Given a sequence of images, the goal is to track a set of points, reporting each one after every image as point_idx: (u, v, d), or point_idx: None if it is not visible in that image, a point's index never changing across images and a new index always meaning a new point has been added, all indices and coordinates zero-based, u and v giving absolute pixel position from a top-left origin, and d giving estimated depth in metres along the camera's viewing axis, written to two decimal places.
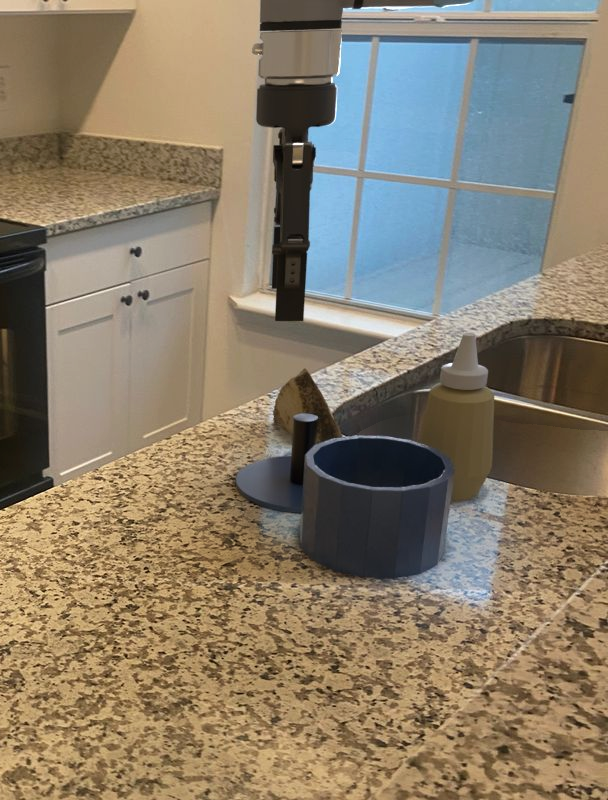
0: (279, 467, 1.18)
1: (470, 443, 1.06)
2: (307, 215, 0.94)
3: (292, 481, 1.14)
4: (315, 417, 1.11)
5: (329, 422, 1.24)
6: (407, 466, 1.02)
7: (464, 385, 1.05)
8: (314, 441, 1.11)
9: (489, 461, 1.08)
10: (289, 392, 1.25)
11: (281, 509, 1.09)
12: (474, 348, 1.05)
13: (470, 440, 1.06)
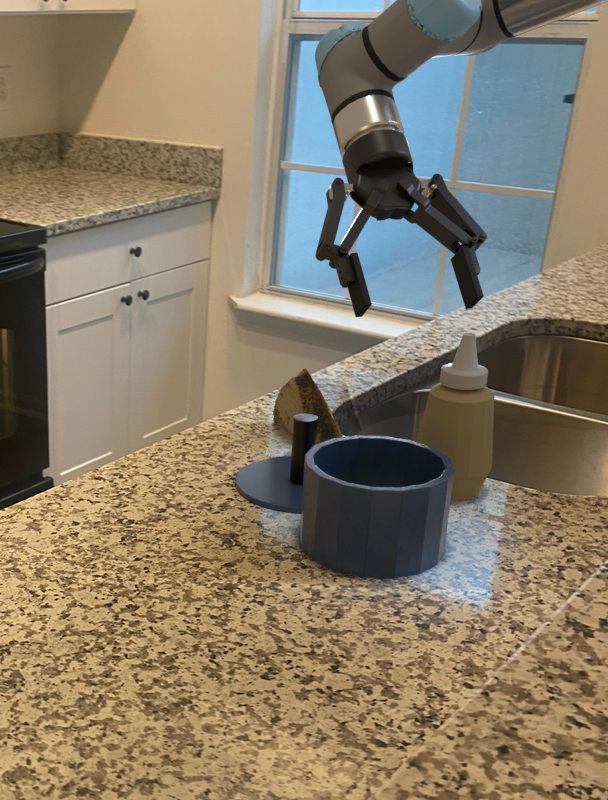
0: (279, 467, 1.18)
1: (470, 443, 1.06)
2: (327, 225, 1.14)
3: (292, 481, 1.14)
4: (315, 417, 1.11)
5: (329, 422, 1.24)
6: (407, 466, 1.02)
7: (464, 385, 1.05)
8: (314, 441, 1.11)
9: (489, 461, 1.08)
10: (289, 392, 1.25)
11: (281, 509, 1.09)
12: (474, 348, 1.05)
13: (470, 440, 1.06)
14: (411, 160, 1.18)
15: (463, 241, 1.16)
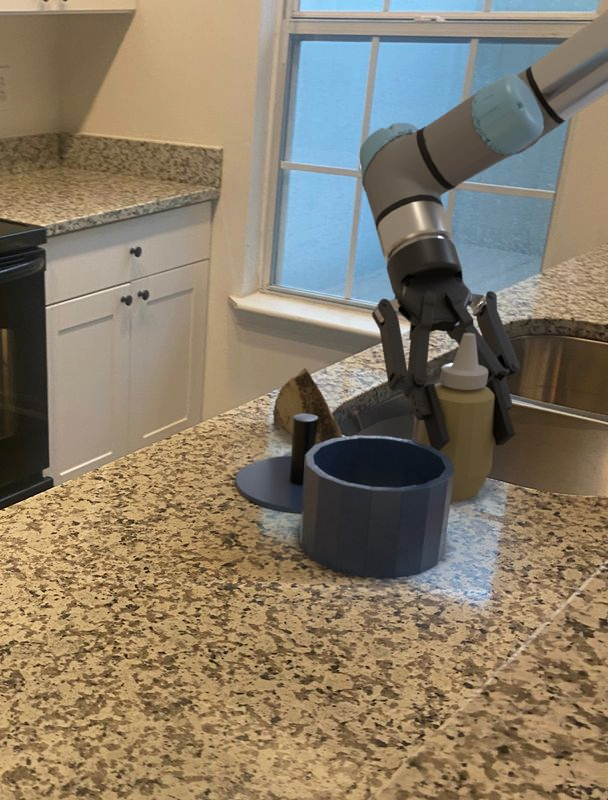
0: (279, 467, 1.18)
1: (470, 443, 1.06)
2: (393, 355, 1.08)
3: (292, 481, 1.14)
4: (315, 417, 1.11)
5: (329, 422, 1.24)
6: (407, 466, 1.02)
7: (464, 385, 1.05)
8: (314, 441, 1.11)
9: (489, 461, 1.08)
10: (289, 392, 1.25)
11: (281, 509, 1.09)
12: (474, 348, 1.05)
13: (470, 440, 1.06)
14: (460, 269, 1.11)
15: (493, 370, 1.08)
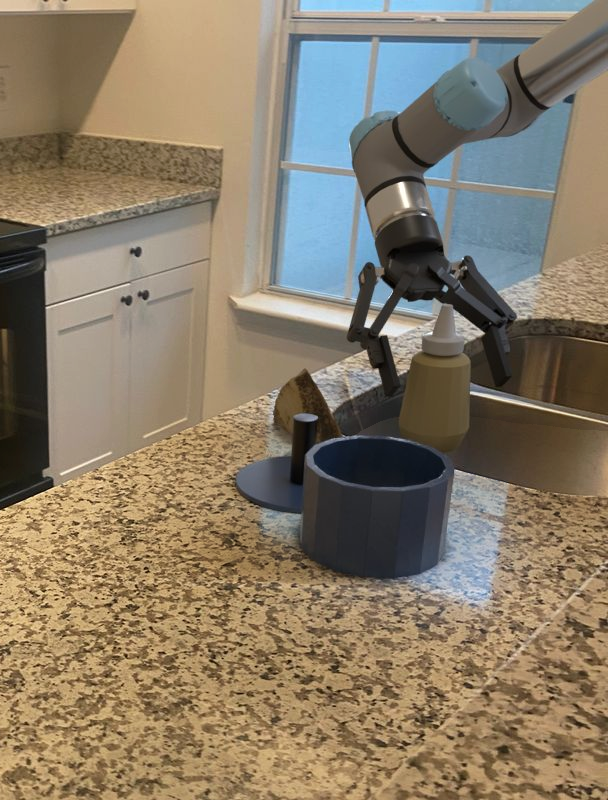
0: (279, 467, 1.18)
1: (449, 404, 1.17)
2: (358, 309, 1.19)
3: (292, 481, 1.14)
4: (315, 417, 1.11)
5: (329, 422, 1.24)
6: (407, 466, 1.02)
7: (443, 351, 1.16)
8: (314, 441, 1.11)
9: (466, 421, 1.19)
10: (289, 392, 1.25)
11: (281, 509, 1.09)
12: (452, 318, 1.16)
13: (449, 401, 1.17)
14: (441, 244, 1.22)
15: (492, 321, 1.20)
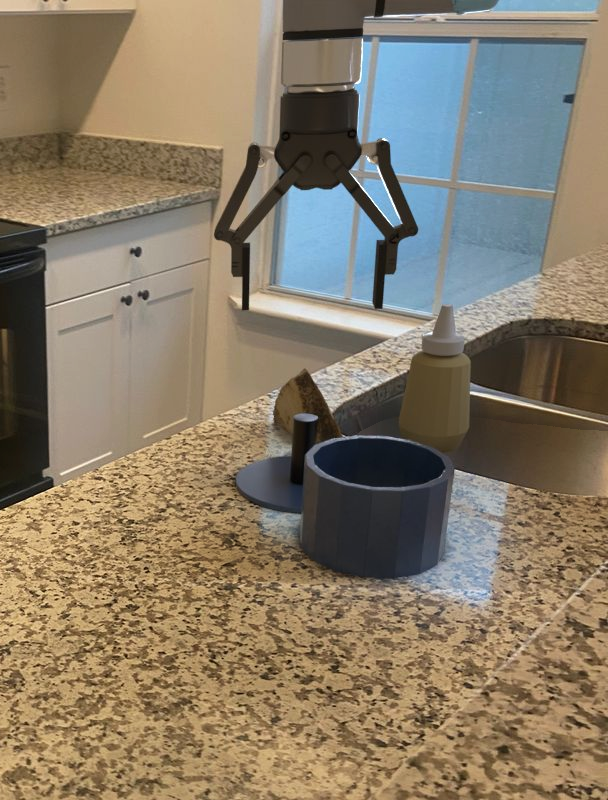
0: (279, 467, 1.18)
1: (449, 404, 1.17)
2: (225, 209, 1.04)
3: (292, 481, 1.14)
4: (315, 417, 1.11)
5: (329, 422, 1.24)
6: (407, 466, 1.02)
7: (443, 351, 1.16)
8: (314, 441, 1.11)
9: (466, 421, 1.19)
10: (289, 392, 1.25)
11: (281, 509, 1.09)
12: (452, 318, 1.16)
13: (449, 401, 1.17)
14: (349, 129, 0.98)
15: (385, 236, 1.03)
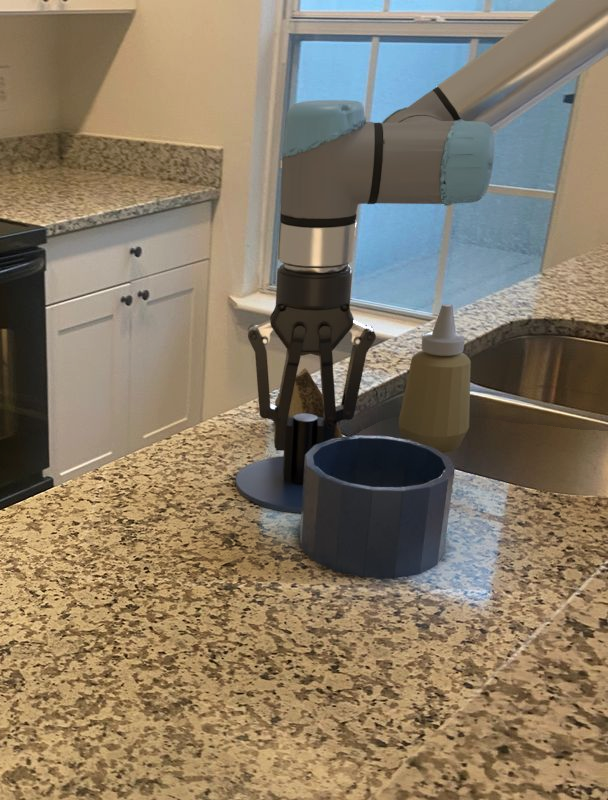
0: (279, 467, 1.18)
1: (449, 404, 1.17)
2: (258, 391, 1.09)
3: (292, 481, 1.14)
4: (315, 417, 1.11)
5: None
6: (407, 466, 1.02)
7: (443, 351, 1.16)
8: (314, 441, 1.11)
9: (466, 421, 1.19)
10: None
11: (281, 509, 1.09)
12: (452, 318, 1.16)
13: (449, 401, 1.17)
14: (342, 305, 1.03)
15: (325, 415, 1.10)
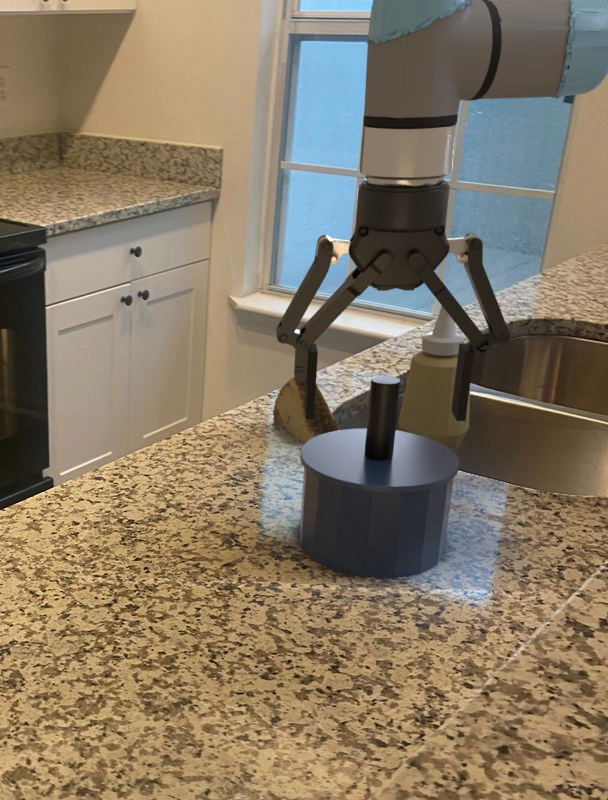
0: (349, 440, 1.01)
1: (449, 404, 1.17)
2: (291, 309, 0.92)
3: (368, 456, 0.97)
4: (397, 379, 0.94)
5: (329, 422, 1.24)
6: None
7: (443, 351, 1.16)
8: (396, 408, 0.94)
9: (466, 421, 1.19)
10: (289, 392, 1.25)
11: (359, 488, 0.92)
12: None
13: (449, 401, 1.17)
14: (438, 227, 0.86)
15: (471, 343, 0.91)
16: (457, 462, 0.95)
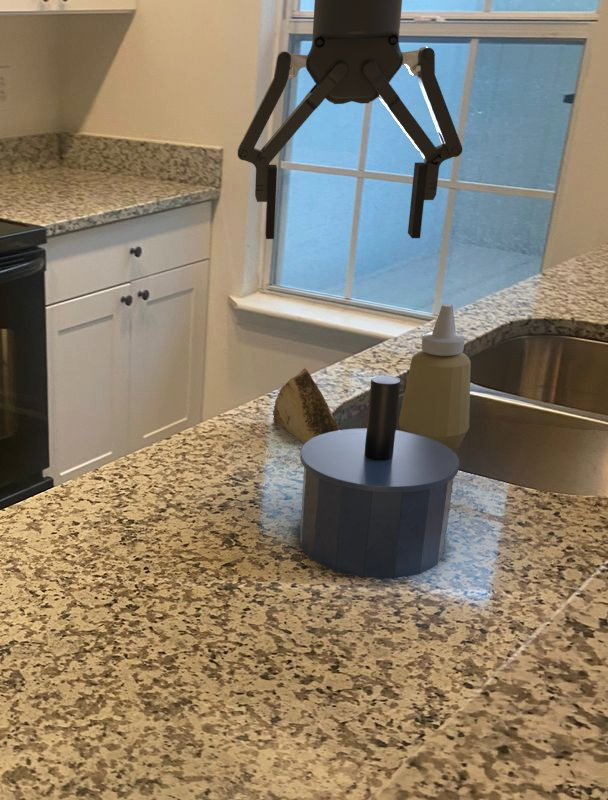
0: (349, 440, 1.01)
1: (449, 404, 1.17)
2: (251, 125, 0.94)
3: (368, 456, 0.97)
4: (397, 379, 0.94)
5: (329, 422, 1.24)
6: None
7: (443, 351, 1.16)
8: (396, 408, 0.94)
9: (466, 421, 1.19)
10: (289, 392, 1.25)
11: (359, 488, 0.92)
12: (452, 318, 1.16)
13: (449, 401, 1.17)
14: (391, 34, 0.89)
15: (425, 157, 0.94)
16: (457, 462, 0.95)
